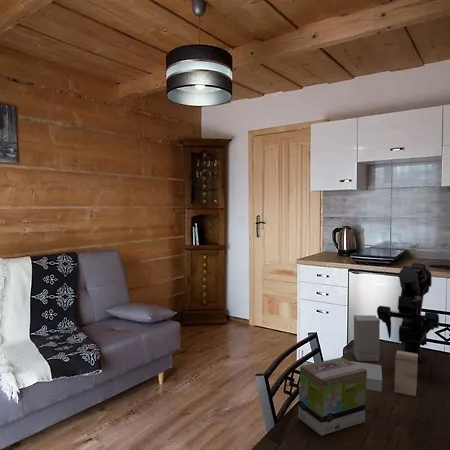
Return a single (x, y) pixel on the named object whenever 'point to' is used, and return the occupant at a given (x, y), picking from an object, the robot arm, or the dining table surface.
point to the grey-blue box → (372, 376)
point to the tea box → (332, 395)
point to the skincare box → (366, 337)
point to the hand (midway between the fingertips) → (404, 339)
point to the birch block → (406, 373)
